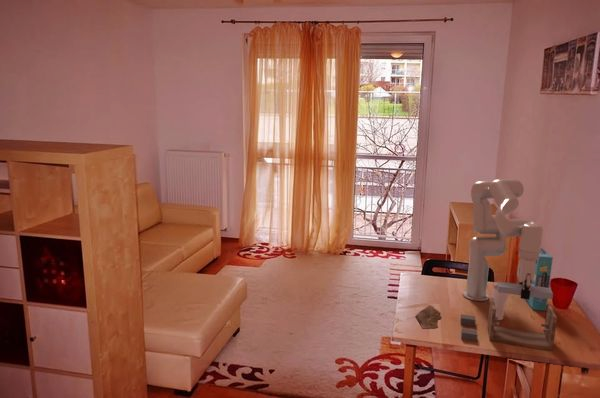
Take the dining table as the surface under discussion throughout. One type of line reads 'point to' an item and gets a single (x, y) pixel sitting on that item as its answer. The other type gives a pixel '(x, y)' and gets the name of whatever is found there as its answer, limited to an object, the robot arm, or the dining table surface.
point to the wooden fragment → (428, 317)
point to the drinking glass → (499, 301)
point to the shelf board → (516, 288)
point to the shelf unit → (523, 331)
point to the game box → (541, 279)
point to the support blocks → (468, 333)
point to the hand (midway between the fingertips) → (523, 295)
